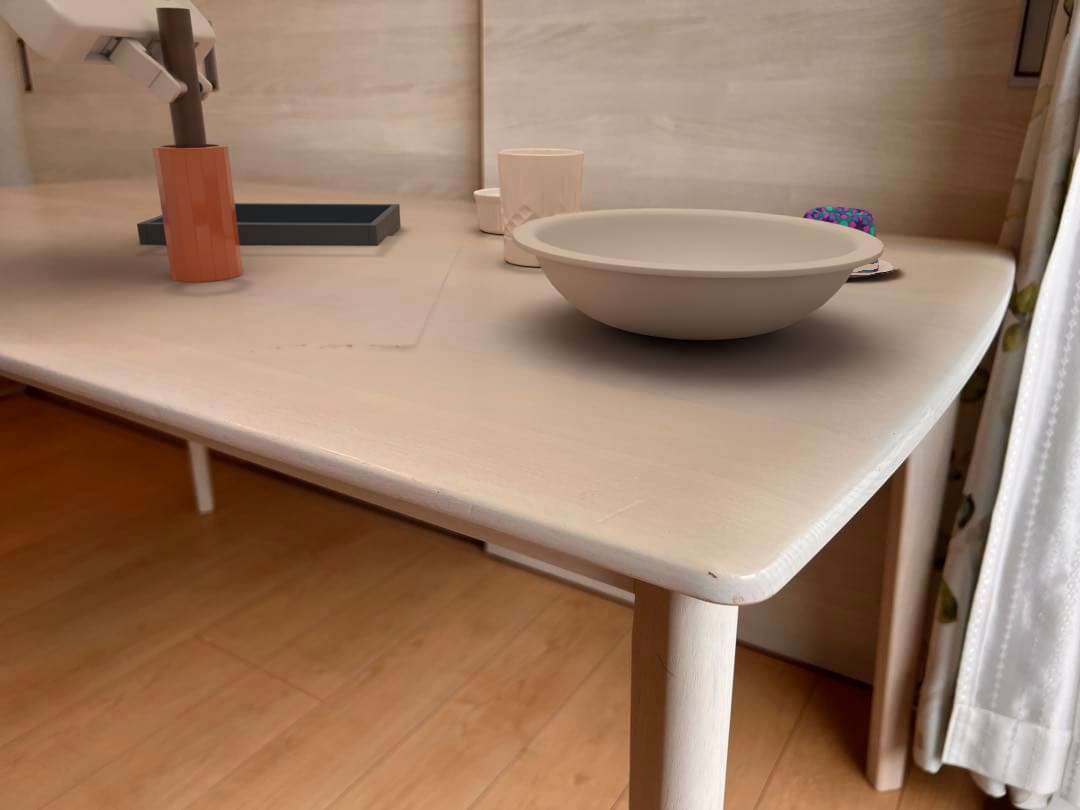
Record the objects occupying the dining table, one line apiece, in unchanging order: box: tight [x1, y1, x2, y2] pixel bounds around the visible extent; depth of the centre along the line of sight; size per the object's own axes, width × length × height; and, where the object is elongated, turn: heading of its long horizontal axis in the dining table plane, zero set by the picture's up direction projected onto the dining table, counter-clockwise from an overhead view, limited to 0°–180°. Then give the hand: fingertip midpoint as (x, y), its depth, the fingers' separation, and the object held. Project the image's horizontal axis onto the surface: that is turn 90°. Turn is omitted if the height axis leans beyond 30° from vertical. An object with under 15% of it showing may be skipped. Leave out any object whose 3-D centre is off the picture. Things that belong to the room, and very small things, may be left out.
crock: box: [151, 143, 244, 284], centre depth 70 cm, size 6×6×11 cm
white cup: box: [497, 147, 585, 268], centre depth 80 cm, size 8×8×10 cm
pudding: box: [802, 206, 893, 278], centre depth 78 cm, size 12×12×5 cm
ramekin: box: [473, 187, 505, 235], centre depth 98 cm, size 9×9×4 cm
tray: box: [136, 202, 402, 247], centre depth 92 cm, size 24×16×3 cm, turn 90°
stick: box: [156, 8, 208, 148], centre depth 68 cm, size 2×2×20 cm
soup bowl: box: [512, 207, 885, 341], centre depth 58 cm, size 24×24×7 cm
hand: (191, 96), depth 67 cm, fingers closed on stick, 2 cm apart
